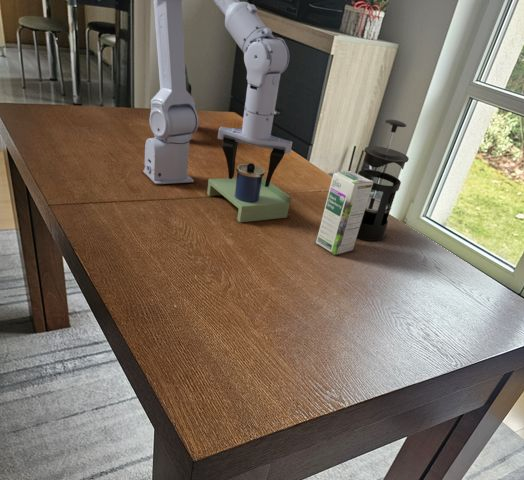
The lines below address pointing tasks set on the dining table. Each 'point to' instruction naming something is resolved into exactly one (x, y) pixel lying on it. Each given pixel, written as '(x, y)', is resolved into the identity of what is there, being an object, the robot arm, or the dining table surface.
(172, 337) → the dining table surface
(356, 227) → the syrup box
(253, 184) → the pot
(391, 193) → the french press
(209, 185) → the shelf
